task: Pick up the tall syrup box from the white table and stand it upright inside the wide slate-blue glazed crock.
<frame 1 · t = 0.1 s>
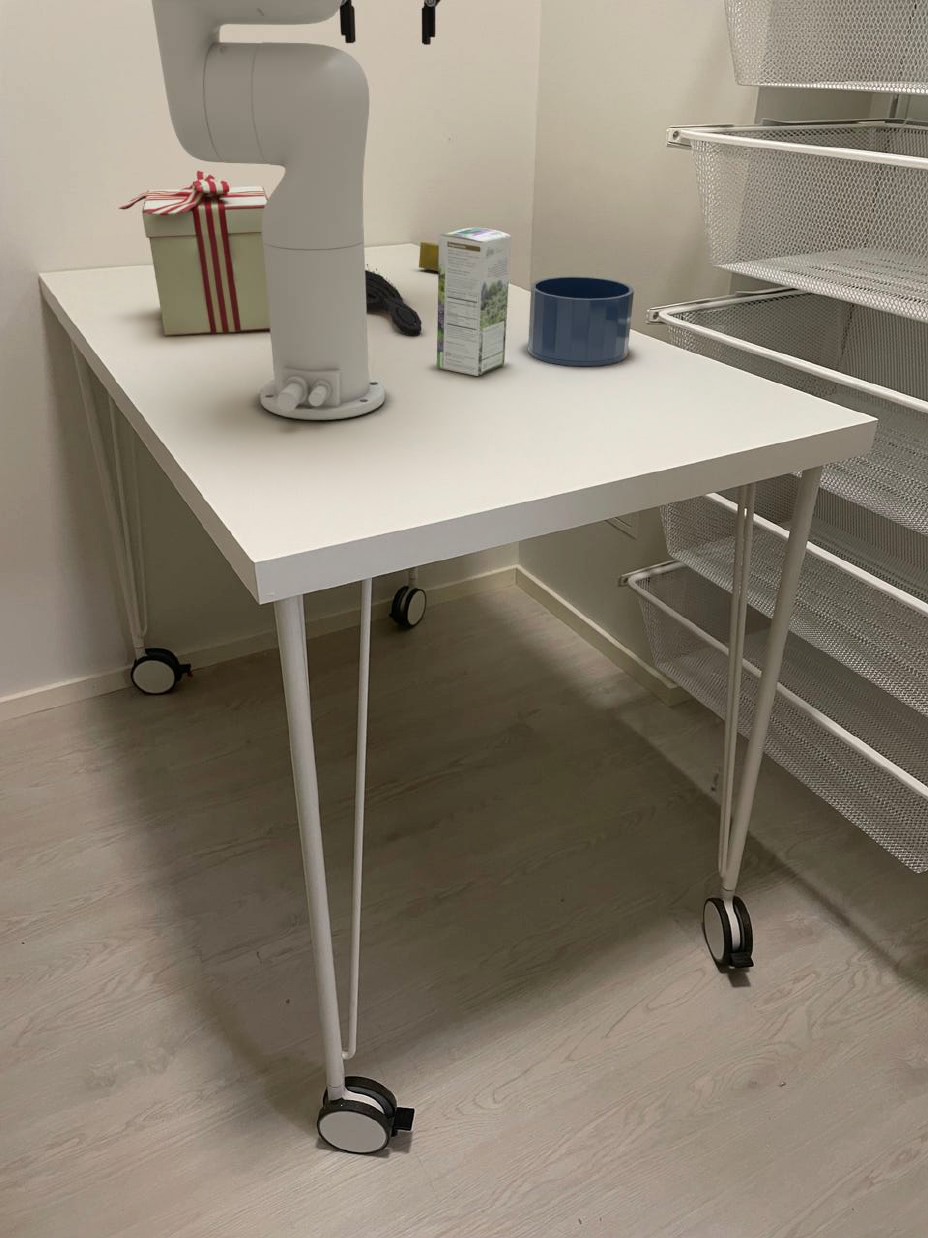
hand: (388, 43, 122), 31 cm above the table, tool pointing down, fingers open, 9 cm apart
hairbrush: (384, 313, 132), on the table
medication box: (453, 275, 153), on the table
crock: (577, 351, 117), on the table
syrup box: (471, 368, 111), on the table
gift box: (211, 322, 127), on the table
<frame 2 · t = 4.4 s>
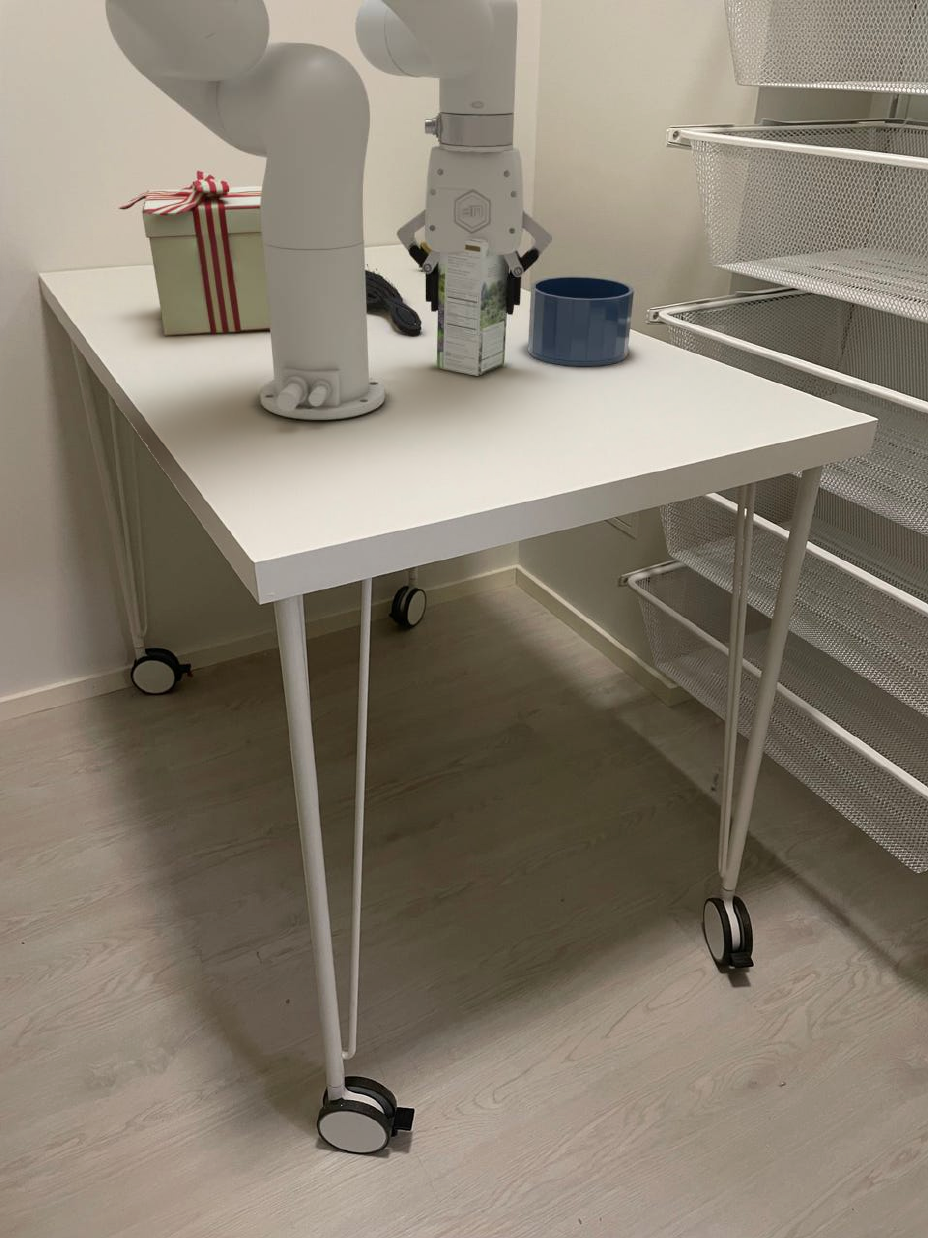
hand: (473, 309, 108), 6 cm above the table, tool pointing down, fingers closed on syrup box, 7 cm apart
syrup box: (471, 368, 111), on the table, touching gripper
everything else where it was.
when the fingers open (7 cm above the table, at t = 11.6 s): syrup box stays where it is, resting on crock.
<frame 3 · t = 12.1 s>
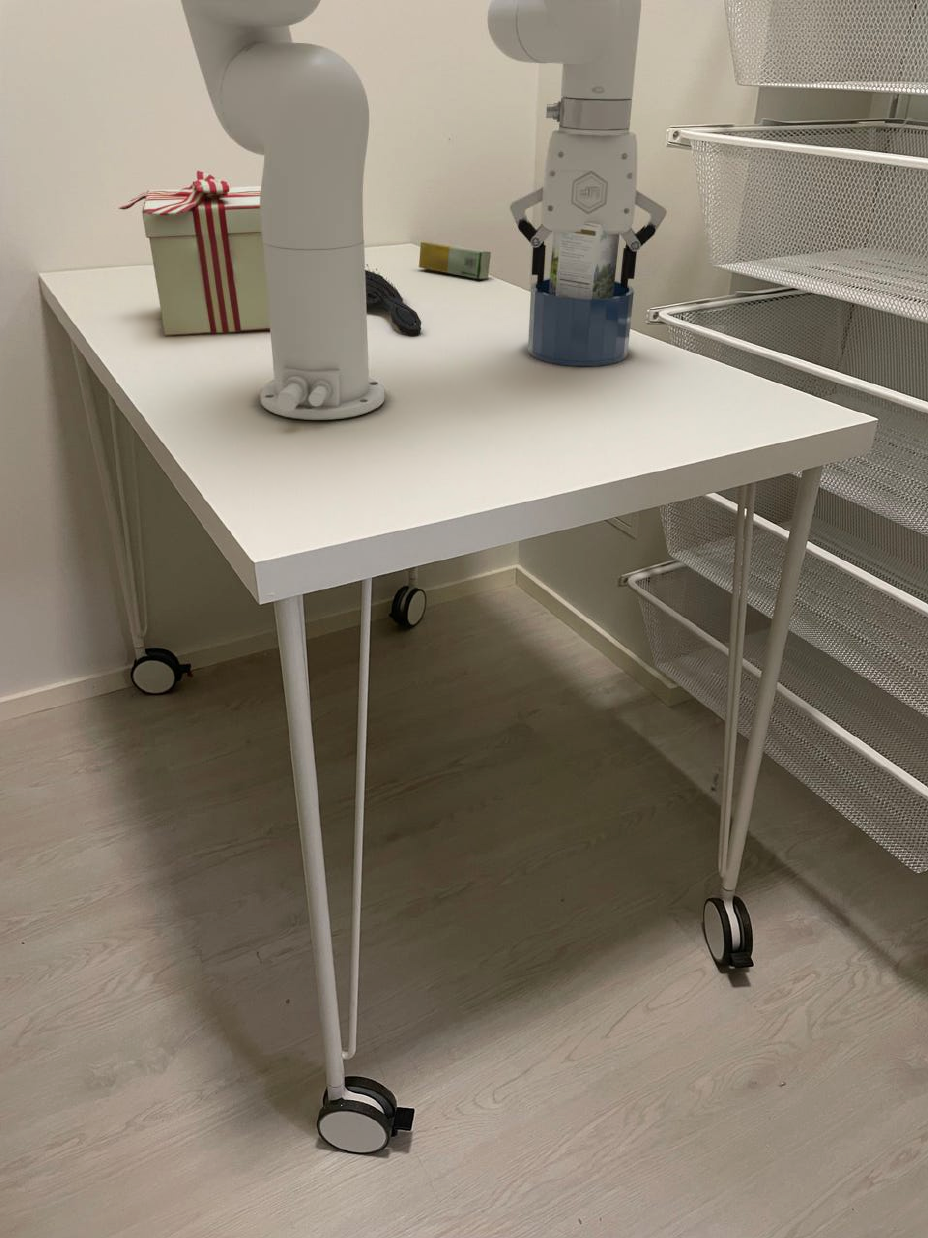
hand: (581, 283, 113), 8 cm above the table, tool pointing down, fingers open, 9 cm apart
syrup box: (577, 348, 117), resting on crock
everything else where it was.
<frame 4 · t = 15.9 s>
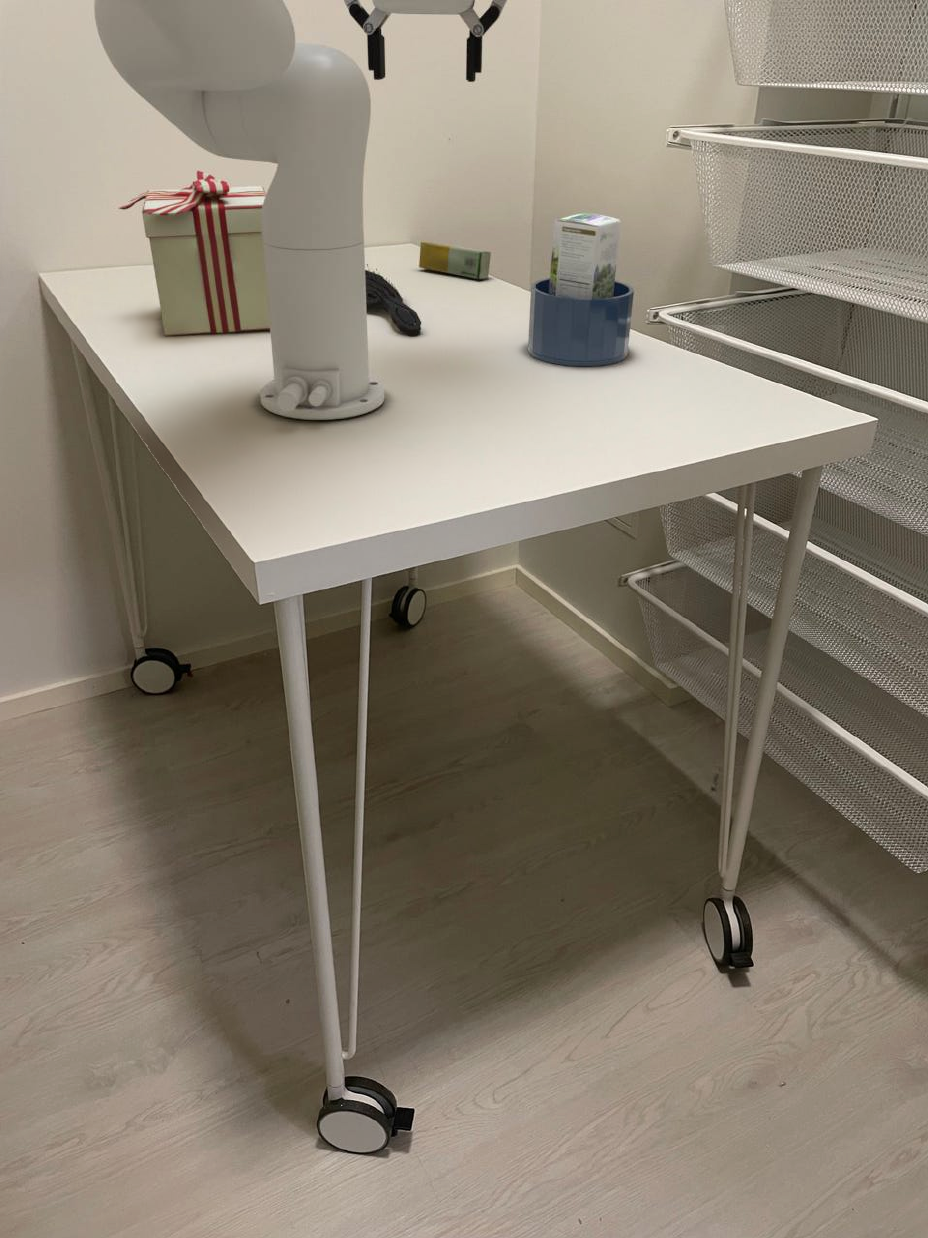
hand: (425, 79, 102), 28 cm above the table, tool pointing down, fingers open, 9 cm apart
nothing on the table moved.
at the end: syrup box 0.1 cm off-centre in the crock, point 0.4 cm above the crock's base; syrup box tilted 0°; the gripper is holding nothing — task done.
